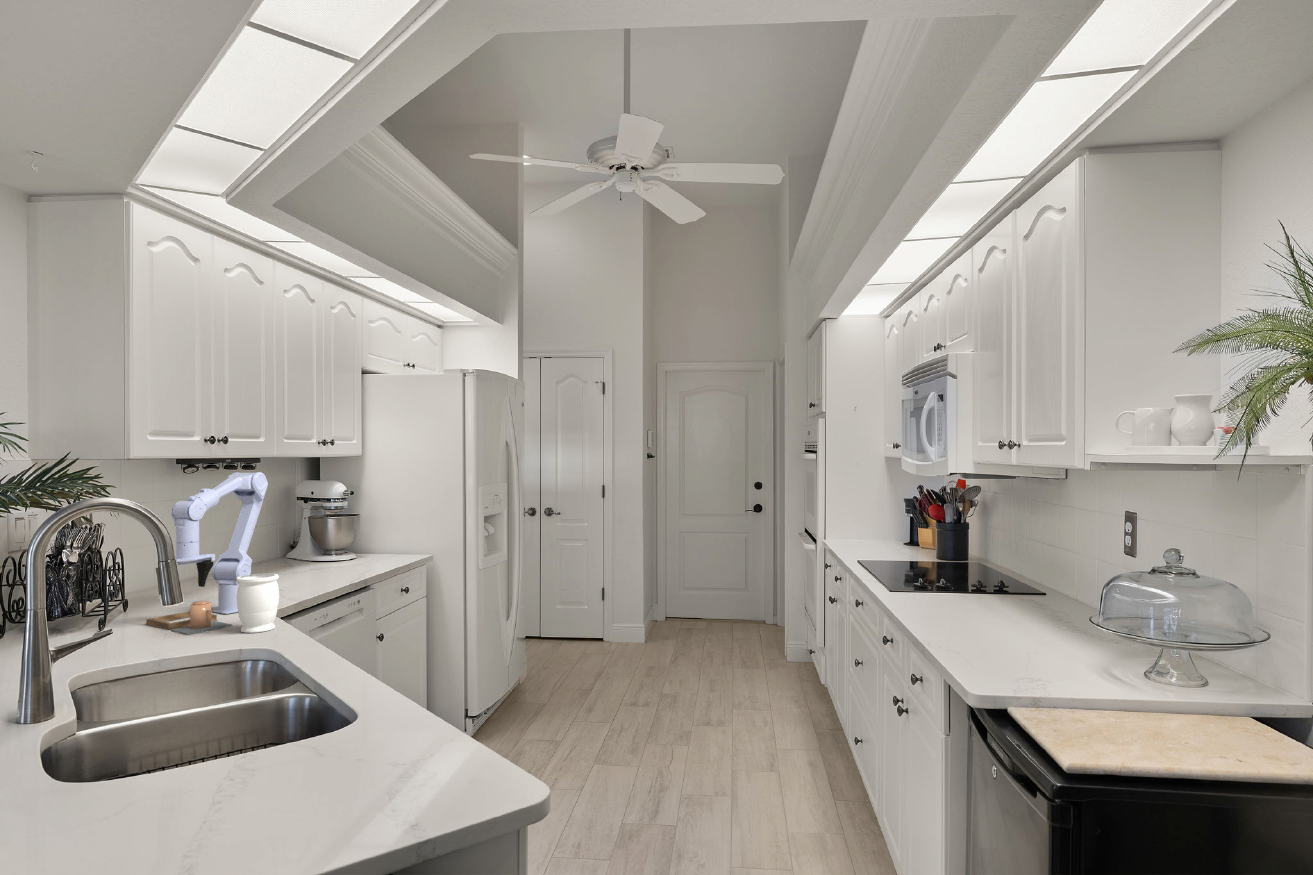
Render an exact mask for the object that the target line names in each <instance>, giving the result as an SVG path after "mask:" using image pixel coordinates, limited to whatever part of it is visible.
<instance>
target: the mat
mask: <svg viewBox="0 0 1313 875" xmlns="http://www.w3.org/2000/svg"><path fill="white" fill-rule="evenodd" d="M232 624H233V623H232ZM232 624H231V623H227V622H222V621H218V620H217V621H212V622H211V626H210V627H207V628H202V629H190V626H186V627H181V628H176V629H171V630H170V631H171V632H174V633H178V634H180V635H181V634H182V635H186V636H188V635H189V636H190V635H193V634H199V633H204V632H207V631H208V632H209V631H213V630H218V629H223V628H227V627H232V626H233V625H232Z"/></svg>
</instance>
